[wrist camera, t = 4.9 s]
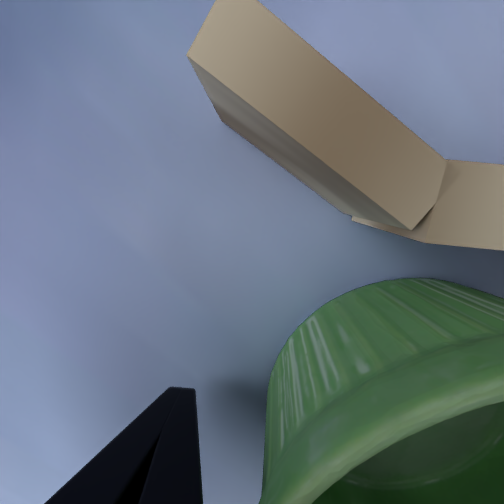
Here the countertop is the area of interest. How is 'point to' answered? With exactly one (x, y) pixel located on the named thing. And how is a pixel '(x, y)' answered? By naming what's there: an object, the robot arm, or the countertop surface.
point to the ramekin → (390, 400)
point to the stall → (339, 133)
